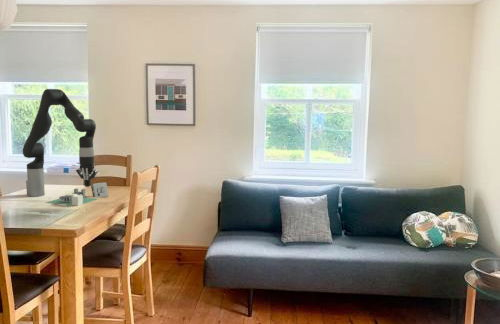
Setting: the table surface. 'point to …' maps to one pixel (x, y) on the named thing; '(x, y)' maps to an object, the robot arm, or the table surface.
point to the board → (71, 203)
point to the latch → (76, 199)
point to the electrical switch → (99, 190)
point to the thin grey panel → (69, 196)
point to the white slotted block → (67, 200)
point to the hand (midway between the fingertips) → (87, 186)
